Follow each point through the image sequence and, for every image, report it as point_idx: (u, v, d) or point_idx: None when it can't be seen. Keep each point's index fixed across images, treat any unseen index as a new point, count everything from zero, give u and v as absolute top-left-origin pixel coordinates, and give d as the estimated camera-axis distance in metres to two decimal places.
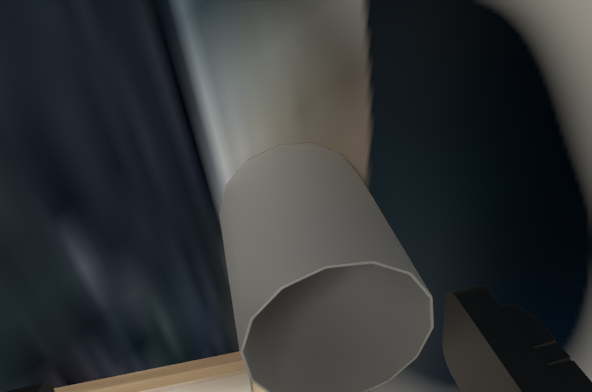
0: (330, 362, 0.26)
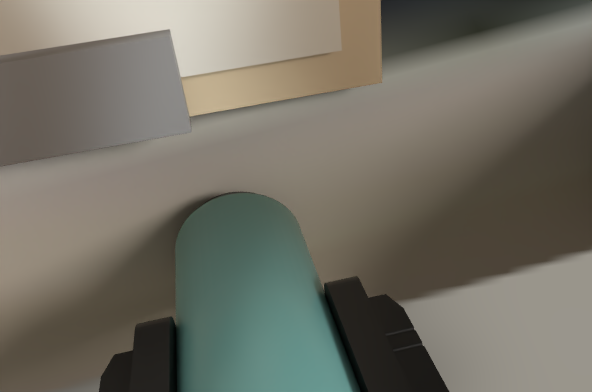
0: None
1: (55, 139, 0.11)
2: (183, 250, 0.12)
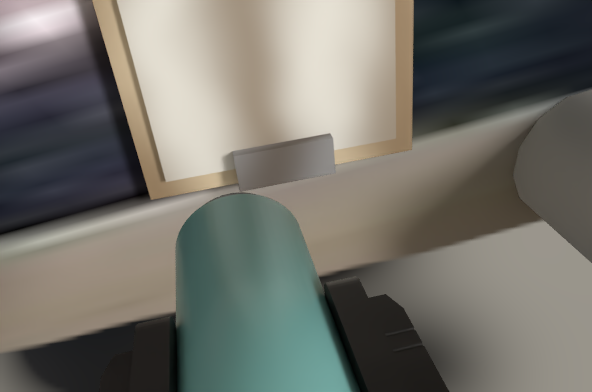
0: None
1: (284, 176, 0.27)
2: (183, 250, 0.12)
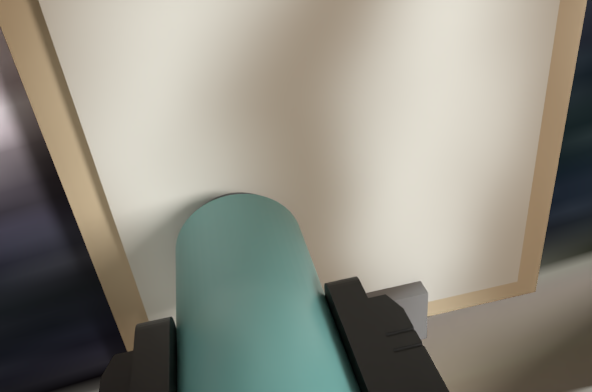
0: None
1: None
2: (183, 250, 0.13)
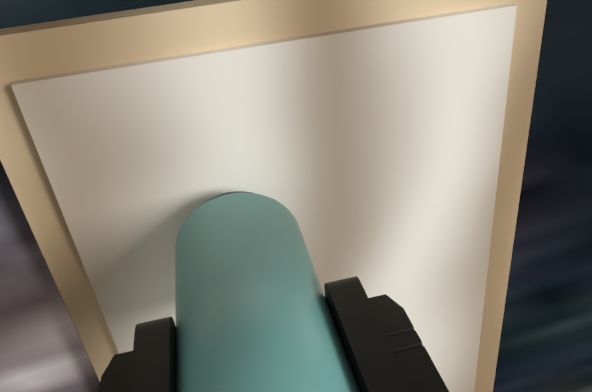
0: None
1: None
2: (183, 249, 0.13)
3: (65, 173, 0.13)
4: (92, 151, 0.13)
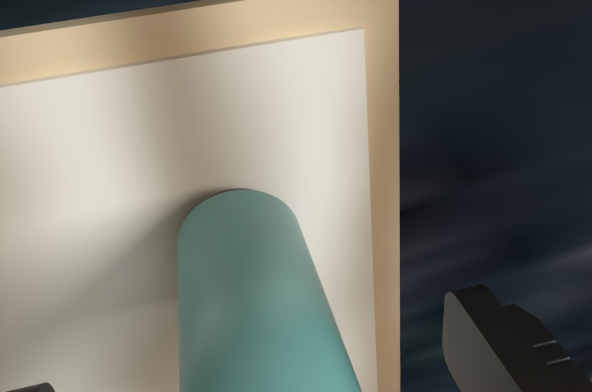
0: None
1: None
2: (185, 244, 0.13)
3: None
4: None
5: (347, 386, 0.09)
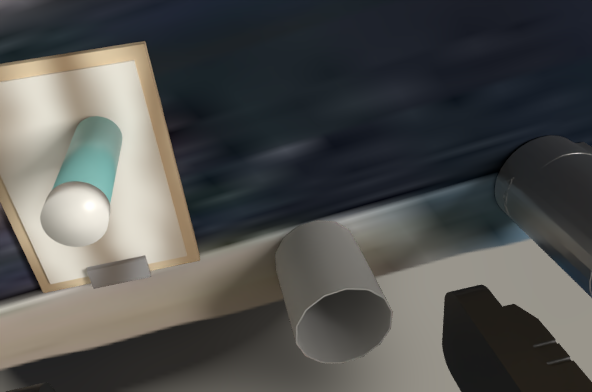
0: (292, 321, 0.45)
1: (119, 280, 0.47)
2: (74, 133, 0.38)
3: None
4: None
5: (103, 157, 0.34)
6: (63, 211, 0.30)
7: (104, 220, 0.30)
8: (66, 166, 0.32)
